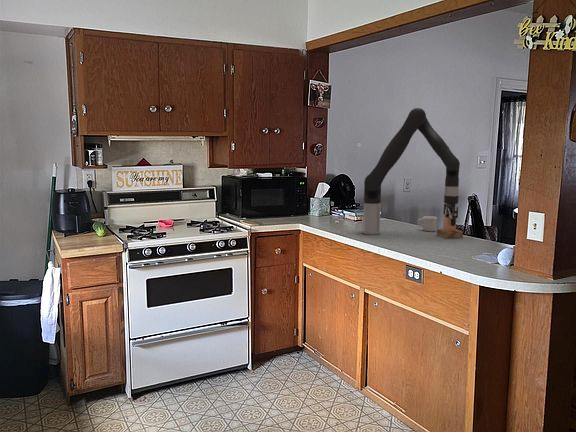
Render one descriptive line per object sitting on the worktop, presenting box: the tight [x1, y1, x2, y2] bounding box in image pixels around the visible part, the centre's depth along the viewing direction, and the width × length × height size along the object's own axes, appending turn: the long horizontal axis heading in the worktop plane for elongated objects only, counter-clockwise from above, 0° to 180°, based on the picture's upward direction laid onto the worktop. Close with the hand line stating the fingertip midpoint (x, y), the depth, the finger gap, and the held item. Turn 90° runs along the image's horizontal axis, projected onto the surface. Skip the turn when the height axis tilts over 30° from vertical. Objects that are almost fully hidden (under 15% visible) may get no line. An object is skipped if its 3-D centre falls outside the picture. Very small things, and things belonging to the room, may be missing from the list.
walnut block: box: [436, 228, 464, 240], centre depth 292 cm, size 10×10×4 cm
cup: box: [417, 215, 438, 232], centre depth 310 cm, size 11×8×8 cm
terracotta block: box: [442, 216, 457, 231], centre depth 292 cm, size 5×5×7 cm
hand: (450, 224), depth 292 cm, fingers open, 8 cm apart
